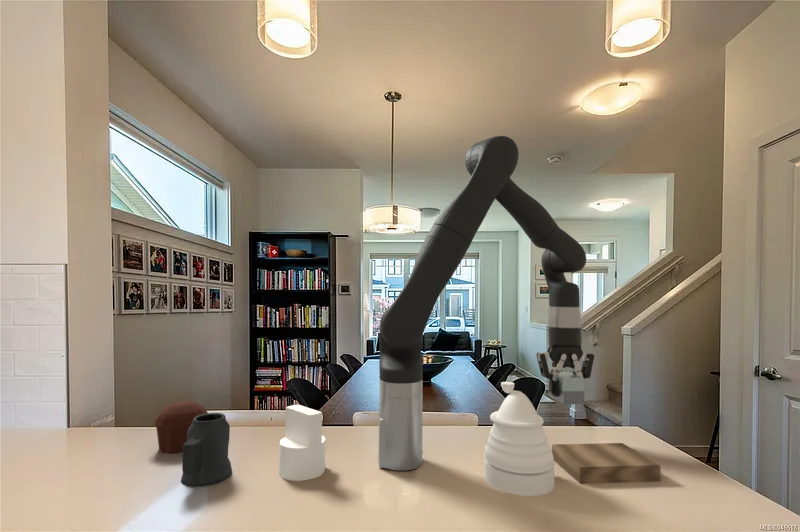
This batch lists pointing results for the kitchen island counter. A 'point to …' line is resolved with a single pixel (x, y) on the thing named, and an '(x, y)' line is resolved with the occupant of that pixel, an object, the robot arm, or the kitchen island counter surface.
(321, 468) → the base with upright slab
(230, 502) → the kitchen island counter surface
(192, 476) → the mug
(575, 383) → the block
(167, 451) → the muffin
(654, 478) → the walnut stand
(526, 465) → the honey pot
